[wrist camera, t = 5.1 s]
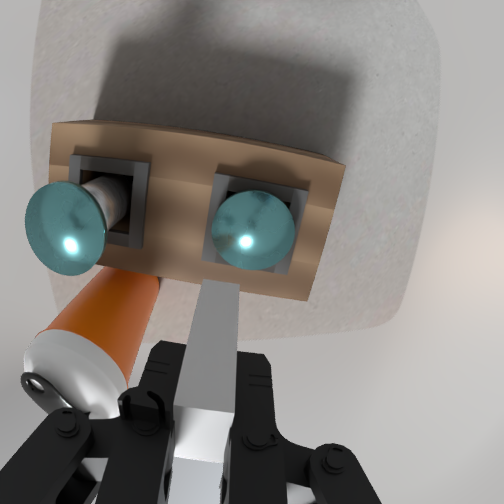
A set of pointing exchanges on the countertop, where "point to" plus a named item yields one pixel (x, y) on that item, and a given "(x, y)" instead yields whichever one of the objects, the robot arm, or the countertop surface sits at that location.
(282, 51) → the countertop surface
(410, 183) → the countertop surface
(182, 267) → the socket block
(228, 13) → the countertop surface
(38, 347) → the shaker bottle
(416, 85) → the countertop surface
